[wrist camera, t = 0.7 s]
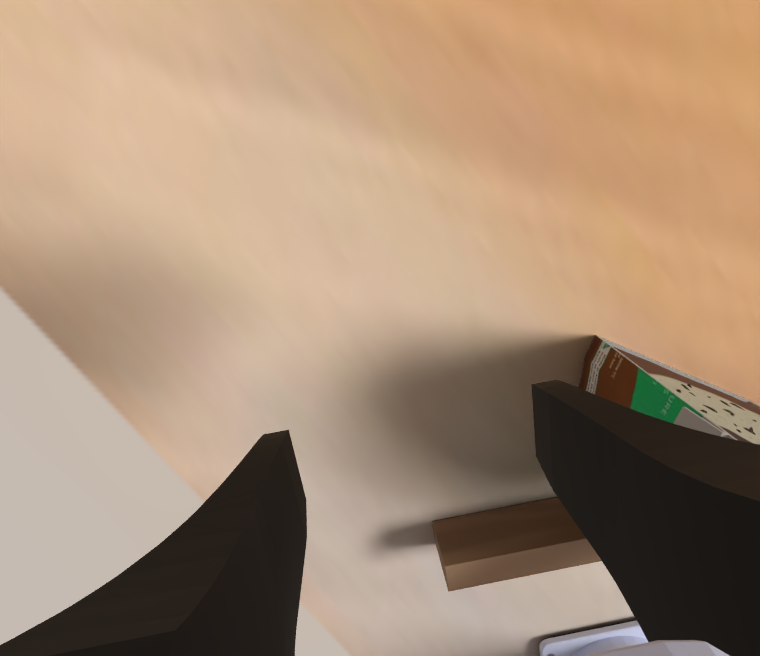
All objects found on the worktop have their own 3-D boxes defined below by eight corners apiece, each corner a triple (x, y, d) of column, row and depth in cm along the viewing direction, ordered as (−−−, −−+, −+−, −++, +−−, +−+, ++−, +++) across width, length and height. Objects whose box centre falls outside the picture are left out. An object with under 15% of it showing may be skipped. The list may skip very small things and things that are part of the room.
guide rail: (908, 451, 27) (975, 486, 25) (435, 544, 27) (448, 591, 24) (947, 282, 24) (1029, 299, 21) (411, 381, 23) (422, 413, 20)
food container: (505, 434, 25) (613, 608, 15) (568, 323, 23) (732, 442, 14) (702, 505, 27) (898, 691, 18) (772, 409, 26) (1026, 559, 16)
